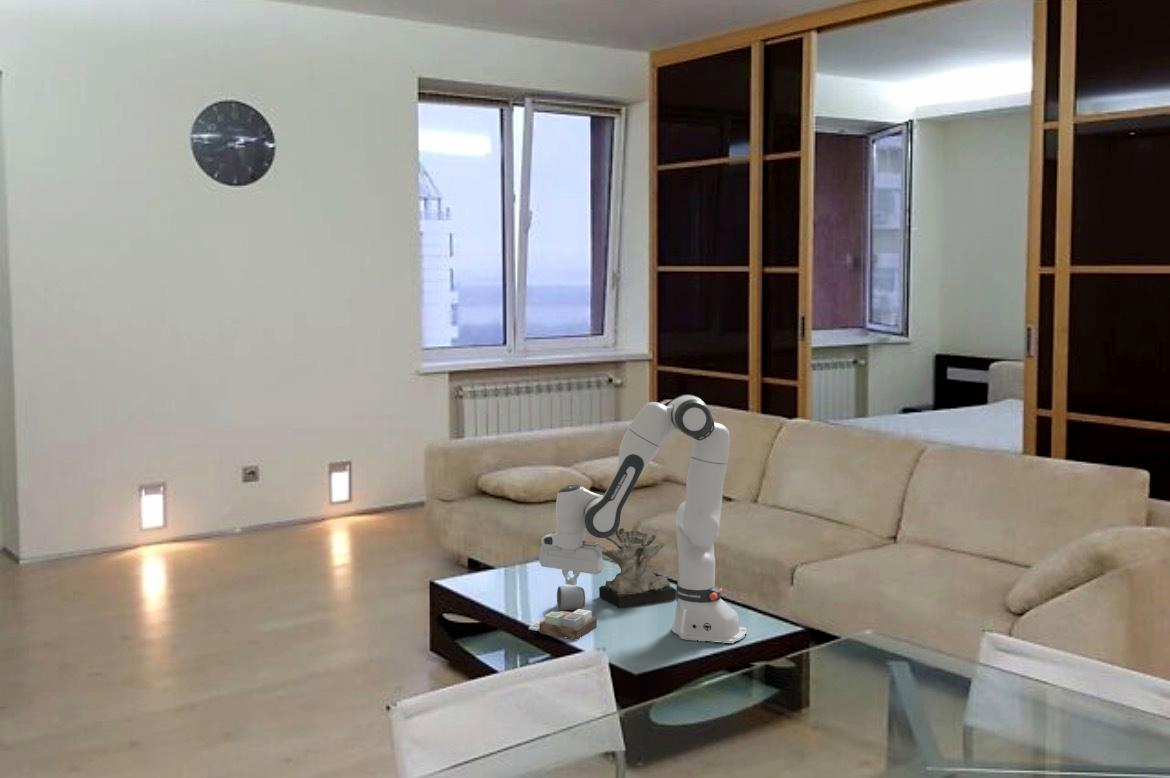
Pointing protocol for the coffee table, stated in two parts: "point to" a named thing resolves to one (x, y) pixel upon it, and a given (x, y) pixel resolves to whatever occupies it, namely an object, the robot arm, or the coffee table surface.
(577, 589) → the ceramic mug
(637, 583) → the coral
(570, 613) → the key terracotta
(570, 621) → the key slate
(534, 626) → the card
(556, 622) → the key sage
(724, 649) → the coffee table surface
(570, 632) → the keypad base
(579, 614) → the key ivory
